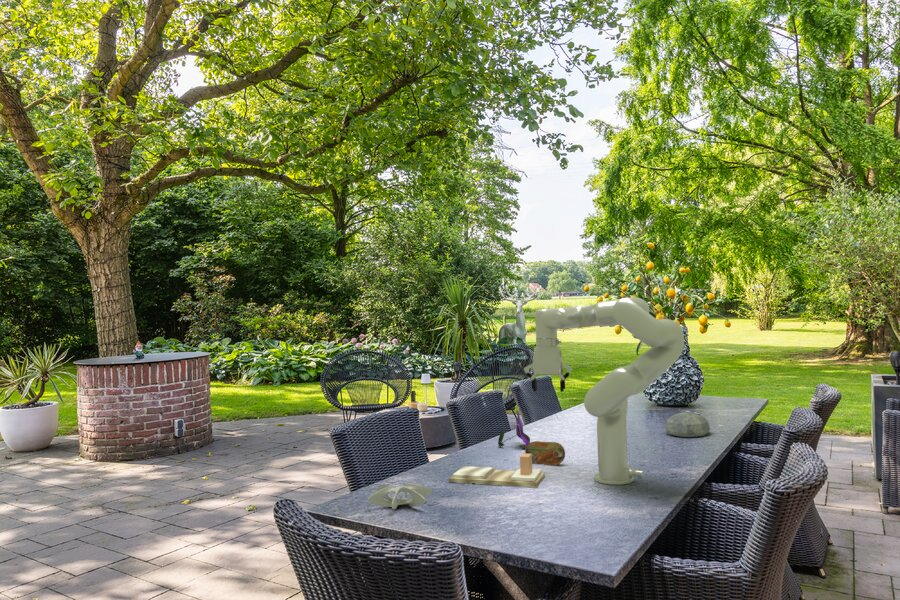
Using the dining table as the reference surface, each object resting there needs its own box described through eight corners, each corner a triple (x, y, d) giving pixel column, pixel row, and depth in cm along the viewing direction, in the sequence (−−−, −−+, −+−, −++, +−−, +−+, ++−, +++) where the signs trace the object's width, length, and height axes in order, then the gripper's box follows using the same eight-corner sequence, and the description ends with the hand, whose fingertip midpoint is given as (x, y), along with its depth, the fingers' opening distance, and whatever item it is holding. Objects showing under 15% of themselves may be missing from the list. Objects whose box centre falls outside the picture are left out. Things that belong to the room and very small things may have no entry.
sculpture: (397, 493, 200) (396, 473, 200) (444, 503, 187) (444, 482, 188) (356, 508, 186) (355, 486, 187) (404, 520, 174) (404, 497, 174)
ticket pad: (544, 476, 214) (544, 469, 214) (536, 487, 201) (536, 479, 201) (461, 472, 224) (461, 465, 224) (449, 482, 210) (448, 474, 211)
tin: (525, 463, 234) (524, 440, 234) (528, 461, 237) (527, 439, 237) (564, 466, 227) (563, 443, 227) (566, 464, 230) (565, 441, 230)
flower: (504, 463, 256) (533, 448, 254) (486, 431, 258) (514, 415, 256) (508, 455, 271) (535, 440, 268) (491, 424, 272) (517, 410, 270)
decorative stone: (656, 434, 279) (655, 412, 280) (688, 428, 289) (687, 407, 289) (687, 440, 264) (686, 417, 264) (720, 434, 274) (719, 411, 274)
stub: (541, 472, 213) (540, 451, 213) (534, 481, 202) (533, 459, 202) (519, 471, 216) (518, 450, 216) (511, 480, 204) (510, 458, 205)
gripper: (572, 342, 223) (574, 390, 222) (525, 343, 229) (526, 389, 228) (569, 343, 216) (571, 392, 215) (520, 344, 221) (522, 392, 221)
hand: (548, 391), depth 222 cm, fingers open, 9 cm apart
